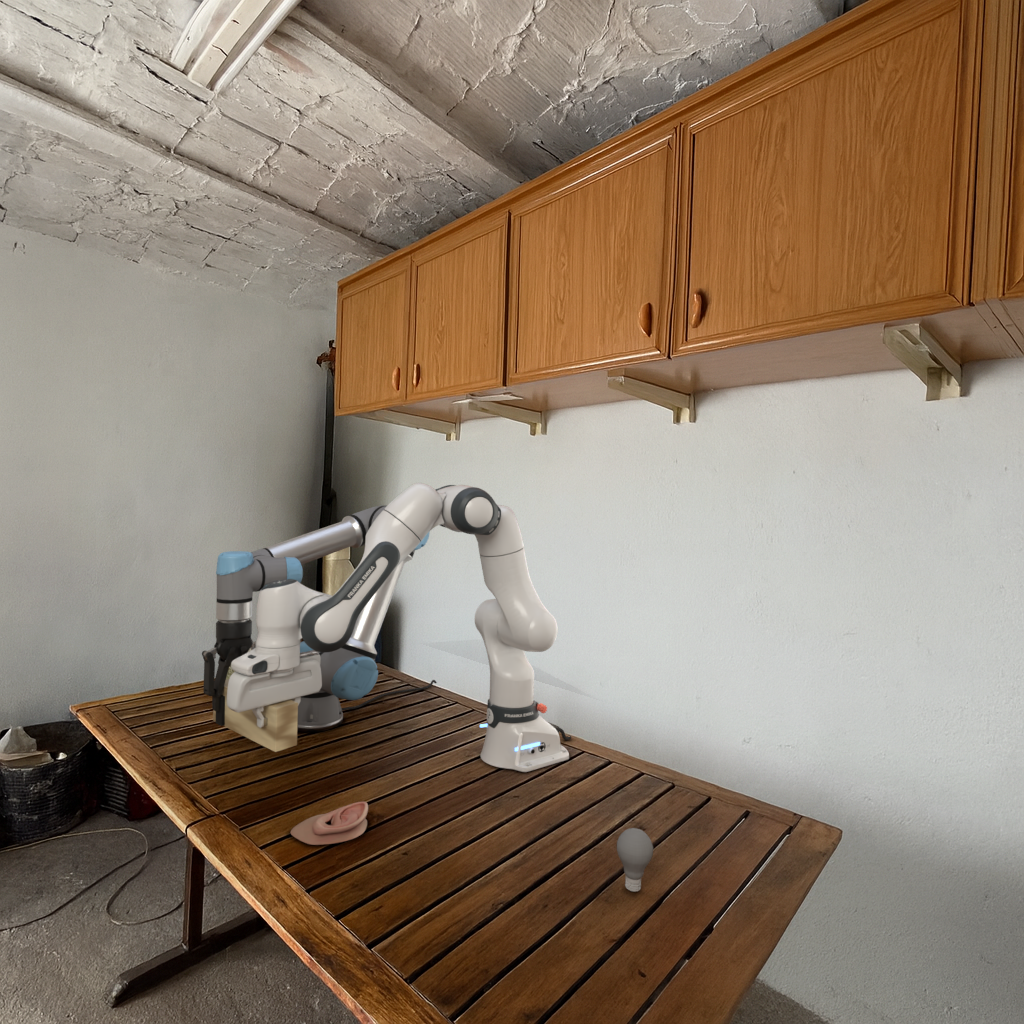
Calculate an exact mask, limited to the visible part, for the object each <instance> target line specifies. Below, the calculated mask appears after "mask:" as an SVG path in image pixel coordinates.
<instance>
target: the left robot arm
mask: <svg viewBox="0 0 1024 1024" xmlns="http://www.w3.org/2000/svg"><path fill="white" fill-rule="evenodd" d="M386 506H387V505H381V504H380V505H376V506H371V507H369V508H366V509H363V510H360V511H358V512H355V513H352V514H348V515H346V516H344V517H343V518H342V520H341V521H339V522H337V523H333V524H331V525H328V526H325V527H322V528H319V529H316V530H312V531H309V532H306V533H304V534H300V535H298V536H295V537H292V538H289V539H286V540H283V541H281V542H278V543H275V544H274V543H273V544H271V545H269V546H265V547H263V548H260V549H257V550H253V551H246V550H236V551H235V550H232V551H231V550H230V551H223V552H221V553H219V554H218V556H217V562H216V571H215V575H216V603H215V605H216V606H215V608H216V609H215V618H216V620H217V621H216V622H215V643H214V646H213V647H212V648H211V649H209V650H203V651H202V652H201V655H202V658H203V688H202V689H203V691H202V693H203V694H204V695H206V696H208V697H212V698H211V699H212V701H211V709H212V711H213V710H214V711H216V722H215V724H216V725H218V726H220V727H225V726H224V725H225V696H223V695H222V692H223V688H224V685H225V681H226V677H227V673H228V669H229V667H230V666H231V662H232V661H233V660H234V659H236V658H238V657H240V656H242V655H244V654H246V653H247V652H248V651H249V649H250V648H251V650H253V649H255V648H256V641H254V640H253V638H252V634H253V621H252V619H251V618H252V617H253V593H254V592H260V591H261V589H262V588H263V587H264V586H265V585H266V584H268V583H271V582H274V581H278V580H284V579H294V580H297V581H298V582H299V583H302V580H303V576H304V570H303V566H302V565H305V564H307V563H310V562H313V561H315V560H318V559H320V558H324V557H326V556H329V555H331V554H334V553H337V552H340V551H342V550H345V549H348V548H350V547H352V548H353V549H357V548H360V547H363V546H364V547H365V538H366V534H367V532H368V530H369V528H370V527H371V525H372V524H373V522H374V521H375V519H376V518H377V517H378V515H379V514H380V513H381V512H382V511H383V510H384V509H385V508H386ZM430 532H431V531H429V532H428V533H427V535H426V536H425V537H424V538H423V540H422V541H421V542H420V543H419V544H418V546H417V547H416V548H415V549H414V550H413V551H412V552H411V553H410V554H409V555H408V556H407V557H406V558H405V559H404V560H403V561H402V562H401V563H400V564H399V565H398V566H397V567H396V568H395V570H394V571H393V572H392V573H391V574H390V575H389V576H388V578H387V579H386V580H385V581H384V583H383V584H382V585H381V587H380V588H379V589H378V590H377V592H376V593H375V594H374V596H373V597H372V598H371V599H370V601H369V602H368V603H367V604H366V606H365V607H364V608H363V610H362V611H361V613H360V614H359V616H358V618H357V620H356V623H355V627H354V630H353V633H352V635H351V637H350V639H349V640H348V642H347V643H346V644H345V645H344V646H343V647H341V648H340V649H338V650H335V651H332V652H318V651H315V650H314V651H315V652H318V653H319V655H320V657H321V660H320V668H321V676H322V687H321V689H320V691H319V692H317V693H313V694H309V695H305V696H301V701H300V703H299V705H298V722H297V732H301V733H316V732H325V731H329V730H332V729H335V728H337V727H339V726H340V725H342V723H343V722H344V713H343V711H351V710H355V709H359V708H361V707H364V706H365V705H367V704H369V703H371V702H373V701H376V700H377V699H380V698H382V697H386V696H390V695H394V694H402V693H408V692H414V691H422V690H426V689H429V688H431V687H432V685H433V684H437V683H438V682H437V681H436V680H435V679H432V680H431V681H430V682H429V684H428V685H426V686H421V687H414V688H407V689H401V690H393V691H389V692H385V693H381V694H379V695H377V696H374V697H372V698H370V699H367V700H366V701H364V702H362V703H360V704H358V705H354V706H346V707H342V706H341V702H340V699H341V700H347V701H357V700H360V699H362V698H363V697H365V696H367V695H368V694H370V692H371V691H372V690H373V689H374V687H375V685H376V683H377V681H378V677H379V670H378V665H377V663H376V658H377V655H378V652H377V650H376V648H375V644H376V641H377V639H378V636H379V633H380V631H381V628H382V625H383V623H384V620H385V617H386V614H387V612H388V609H389V606H390V604H391V601H392V598H393V595H394V593H395V590H396V588H397V585H398V583H399V580H400V578H401V574H402V571H403V569H404V566H405V564H406V563H407V562H410V561H412V560H413V558H414V555H415V552H416V551H418V550H420V549H421V548H423V547H425V545H426V544H427V543H428V540H429V538H430ZM311 650H313V649H311V648H310V647H309V646H307V644H306V643H305V642H304V640H303V641H300V653H301V652H308V651H311ZM217 655H218V656H219V658H218V661H217V664H218V665H217V669H216V658H217V657H216V656H217ZM215 673H216V674H215Z"/></svg>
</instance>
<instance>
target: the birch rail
mask: <svg viewBox="0 0 1024 1024" xmlns="http://www.w3.org/2000/svg"><path fill="white" fill-rule="evenodd" d="M228 682H229V679H226V681H225V685H224V688H223V692H222V695H223V696H225V725H224V726H223V727H225V728H227V729H228V730H230V731H232V732H235V733H236V734H239V735H240V736H243V737H244V738H246V739H248V740H250V741H252V742H255V743H256V744H258V745H260V746H262V747H264V748H266V749H268V750H270V751H272V752H274V753H278V752H281V751H283V750H287V749H290V748H292V747H295V746H298V731H297V722H298V703H297V702H294V701H292V700H286V701H282V702H278V703H274V704H271V705H267V706H264V710H263V711H262V712H261V713H262V715H263V716H264V717H267V718H268V722H267V723H268V725H267V726H265V727H261V728H260V727H258V726H257V718H256V716H255V715H254V713H253V711H252V709H251V710H247V711H243V712H239V713H237V712H235V711H232V710H231V709H230V708H229V707H228V706H227V689H228ZM212 721H213V722H214V723H216V711H214V710H213V709H212Z"/></svg>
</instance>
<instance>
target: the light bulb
mask: <svg viewBox="0 0 1024 1024" xmlns="http://www.w3.org/2000/svg"><path fill="white" fill-rule="evenodd" d="M616 852H617V856H618V858H619V860H620V862H621V864H622V866H623V872H624V875H625V882H624V887H625V889H627V890H628V891H630V892H633V893H634V892H635V893H636V892H639V891H641V889H642V878H643V876H644V875H645V869H646V868H647V867H648V865H649V864H650V862H651V860H652V858H653V855H654V845H653V842H652V840H651V838H650V836H649V835H648V834H647V832H645V831H644V830H642V829H640V828H636V827H629V828H627V829H625V830H624V831H623V832H622V833H620V835H619V836H618V839H617V841H616Z"/></svg>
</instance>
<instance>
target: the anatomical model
mask: <svg viewBox="0 0 1024 1024" xmlns="http://www.w3.org/2000/svg"><path fill="white" fill-rule="evenodd" d="M368 812H369V804H368V803H367V802H366V801H358V802H357V801H356V802H354V803H349V804H347V805H344V806H341V807H337V808H336V809H334V810H331V811H329V812H326V813H322V814H316V815H314V816H311V817H308V818H306V819H304V820H303V821H301V822H299V823H298V824H297V825H295V826H293V828H291V830H290V835H291V836H292V837H294V838H295V839H297V840H298V841H300V842H302V843H304V844H307V845H312V846H320V845H321V846H323V845H332V844H339V843H343V842H347V841H351V840H354V839H356V838H358V837H359V836H361V835H363V834H364V833H365V831H366V830H367V827H368V820H367V819H366V818H367V817H368V816H367V815H368V814H369V813H368Z"/></svg>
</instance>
